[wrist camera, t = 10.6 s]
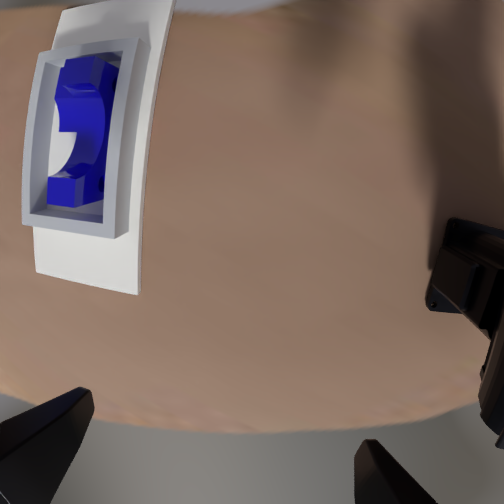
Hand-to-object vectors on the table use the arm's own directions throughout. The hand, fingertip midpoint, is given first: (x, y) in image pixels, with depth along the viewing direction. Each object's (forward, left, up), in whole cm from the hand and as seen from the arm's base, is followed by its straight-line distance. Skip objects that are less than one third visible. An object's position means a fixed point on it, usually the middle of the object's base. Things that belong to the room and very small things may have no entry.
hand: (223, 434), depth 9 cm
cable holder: (+11, -9, -12) cm, 18 cm away
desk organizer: (+12, -9, -12) cm, 19 cm away
